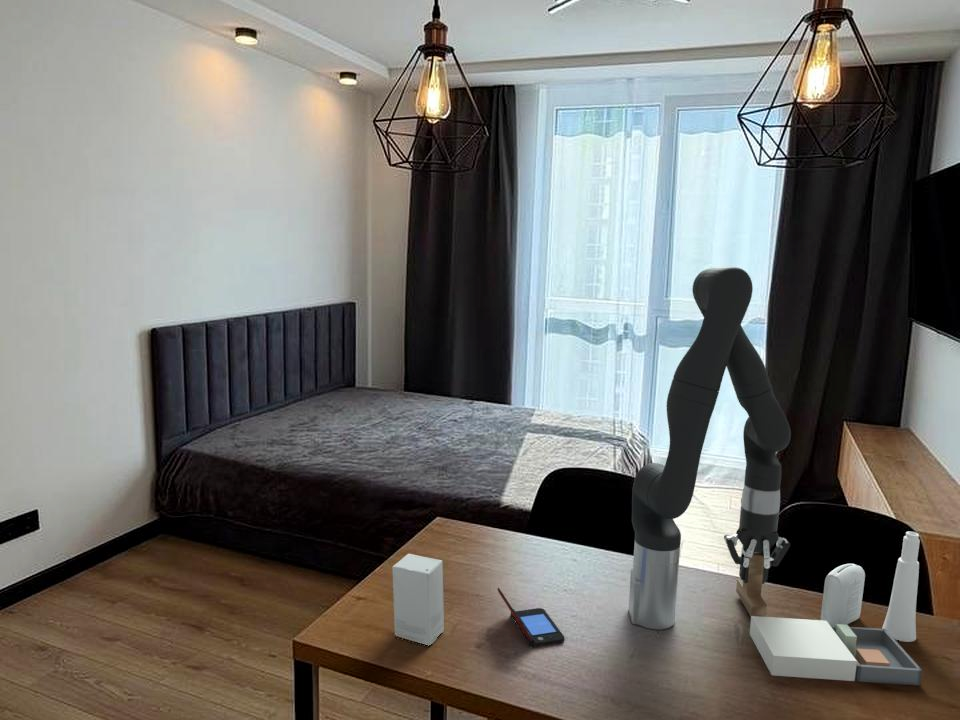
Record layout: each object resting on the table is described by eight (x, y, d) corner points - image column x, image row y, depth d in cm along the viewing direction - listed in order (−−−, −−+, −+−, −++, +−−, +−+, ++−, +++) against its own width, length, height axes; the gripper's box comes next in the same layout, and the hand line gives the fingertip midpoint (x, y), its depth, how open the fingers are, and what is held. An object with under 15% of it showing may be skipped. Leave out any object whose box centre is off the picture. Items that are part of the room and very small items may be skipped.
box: (856, 681, 125) (858, 666, 125) (825, 638, 138) (827, 625, 138) (920, 685, 124) (922, 670, 124) (883, 642, 138) (885, 629, 137)
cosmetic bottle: (878, 623, 144) (891, 525, 141) (910, 628, 143) (924, 529, 139) (886, 639, 139) (900, 537, 135) (920, 644, 137) (935, 541, 133)
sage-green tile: (846, 636, 131) (856, 636, 131) (836, 624, 135) (847, 624, 135) (843, 655, 132) (854, 656, 132) (834, 643, 136) (844, 644, 136)
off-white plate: (771, 675, 126) (773, 655, 126) (749, 634, 140) (751, 616, 139) (854, 681, 125) (857, 661, 124) (824, 638, 138) (826, 620, 138)
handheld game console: (566, 644, 135) (568, 609, 134) (515, 652, 132) (516, 617, 131) (543, 611, 147) (544, 579, 146) (495, 618, 144) (496, 585, 143)
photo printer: (843, 609, 150) (849, 556, 148) (862, 618, 147) (869, 564, 144) (816, 622, 145) (822, 568, 142) (836, 632, 141) (843, 576, 139)
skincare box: (444, 632, 138) (445, 560, 136) (428, 649, 132) (429, 574, 130) (408, 621, 142) (409, 551, 139) (391, 638, 136) (391, 565, 133)
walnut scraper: (750, 617, 144) (756, 564, 142) (736, 590, 155) (740, 541, 152) (765, 618, 143) (770, 564, 141) (749, 591, 154) (754, 541, 152)
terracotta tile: (889, 663, 127) (888, 673, 127) (878, 650, 131) (877, 659, 131) (866, 661, 127) (865, 671, 127) (856, 648, 131) (854, 658, 131)
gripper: (730, 511, 142) (724, 588, 145) (800, 514, 141) (792, 592, 144) (721, 498, 149) (715, 571, 152) (787, 501, 148) (780, 575, 151)
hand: (752, 581), depth 148 cm, fingers closed on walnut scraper, 3 cm apart
